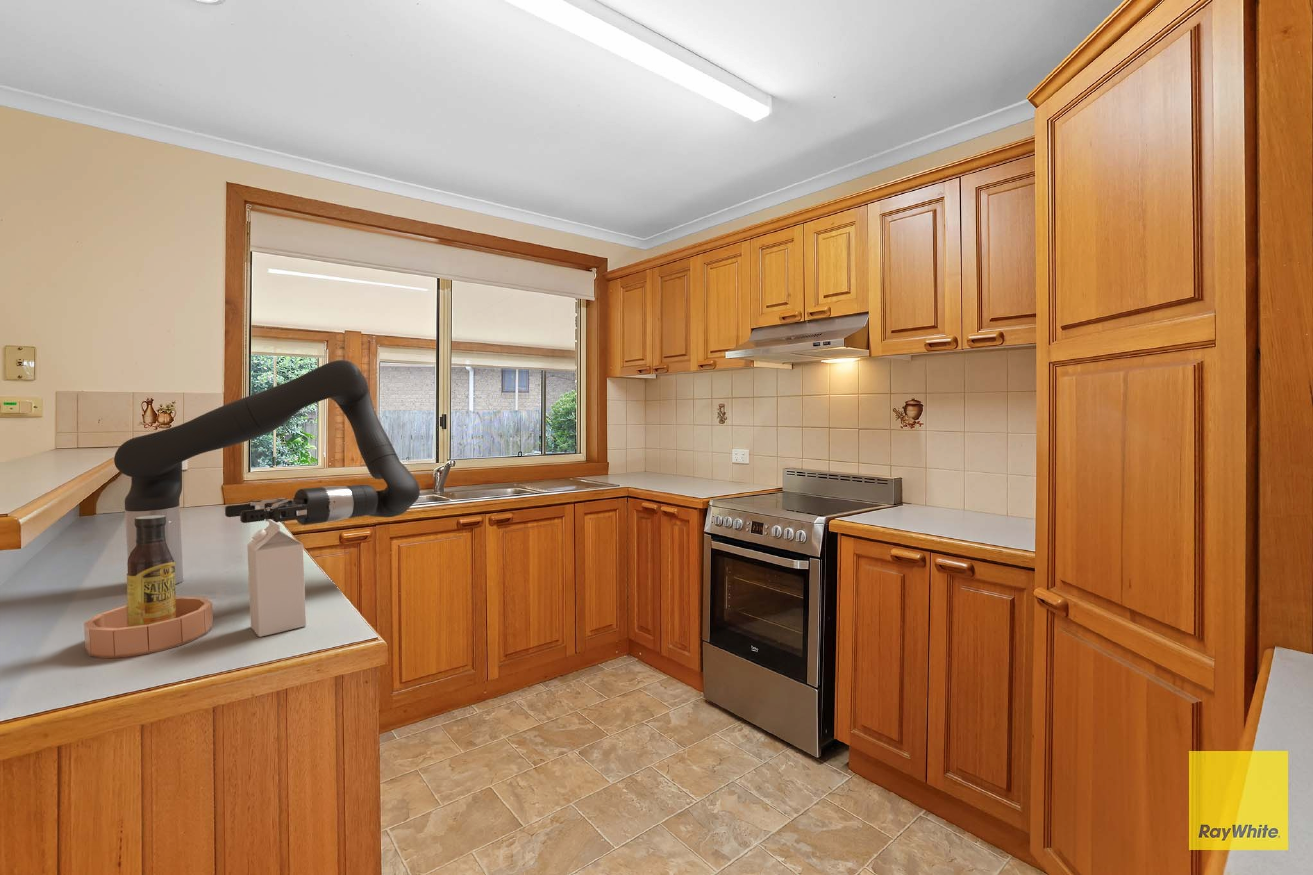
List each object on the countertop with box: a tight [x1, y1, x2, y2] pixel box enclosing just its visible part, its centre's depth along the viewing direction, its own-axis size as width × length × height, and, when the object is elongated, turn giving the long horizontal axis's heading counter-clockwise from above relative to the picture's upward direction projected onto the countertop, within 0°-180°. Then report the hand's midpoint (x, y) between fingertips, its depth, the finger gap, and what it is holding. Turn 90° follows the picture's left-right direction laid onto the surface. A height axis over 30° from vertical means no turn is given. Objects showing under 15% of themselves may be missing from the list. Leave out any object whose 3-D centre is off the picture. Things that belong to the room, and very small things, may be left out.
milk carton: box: [247, 519, 307, 638], centre depth 104 cm, size 7×7×19 cm
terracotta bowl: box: [83, 596, 214, 659], centre depth 100 cm, size 16×16×4 cm
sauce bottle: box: [126, 515, 176, 627], centre depth 100 cm, size 6×6×20 cm
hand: (233, 514), depth 111 cm, fingers open, 8 cm apart
